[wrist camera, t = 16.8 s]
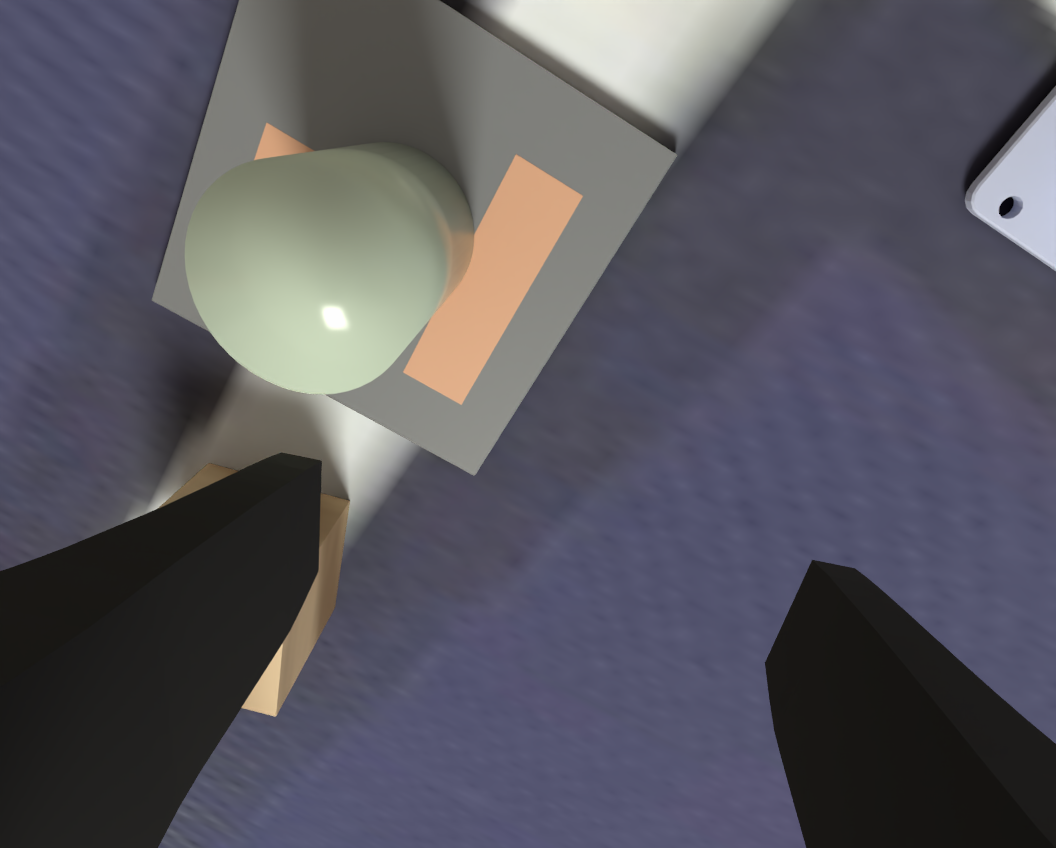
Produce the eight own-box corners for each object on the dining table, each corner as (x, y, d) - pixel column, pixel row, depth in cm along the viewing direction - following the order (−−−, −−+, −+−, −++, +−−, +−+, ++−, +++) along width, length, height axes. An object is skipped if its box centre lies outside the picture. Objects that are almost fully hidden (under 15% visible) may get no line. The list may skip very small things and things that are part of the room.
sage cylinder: (496, 180, 17) (445, 213, 11) (446, 334, 19) (383, 425, 13) (331, 114, 16) (198, 116, 11) (298, 278, 18) (173, 347, 13)
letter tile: (675, 154, 16) (677, 154, 16) (476, 469, 21) (474, 476, 21) (279, -105, 15) (270, -110, 15) (160, 296, 20) (151, 300, 19)
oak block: (350, 499, 22) (287, 597, 18) (335, 606, 25) (275, 716, 20) (210, 461, 22) (110, 550, 18) (207, 572, 25) (118, 675, 20)
